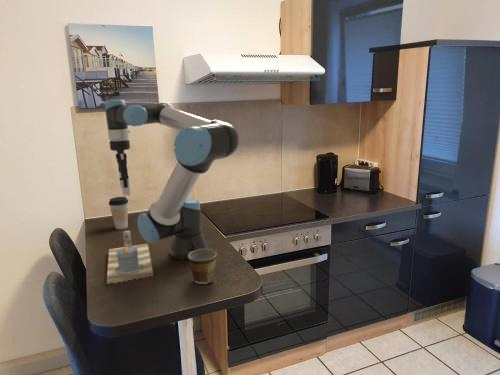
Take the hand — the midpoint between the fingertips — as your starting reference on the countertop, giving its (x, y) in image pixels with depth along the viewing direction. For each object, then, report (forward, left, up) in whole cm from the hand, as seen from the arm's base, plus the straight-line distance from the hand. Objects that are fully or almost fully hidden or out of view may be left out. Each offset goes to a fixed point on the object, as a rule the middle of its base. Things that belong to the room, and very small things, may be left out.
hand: (125, 191), depth 158 cm
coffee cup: (+27, -21, -27) cm, 44 cm away
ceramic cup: (-42, +10, -27) cm, 51 cm away
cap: (-13, +16, -25) cm, 32 cm away
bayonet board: (-8, +10, -27) cm, 29 cm away
